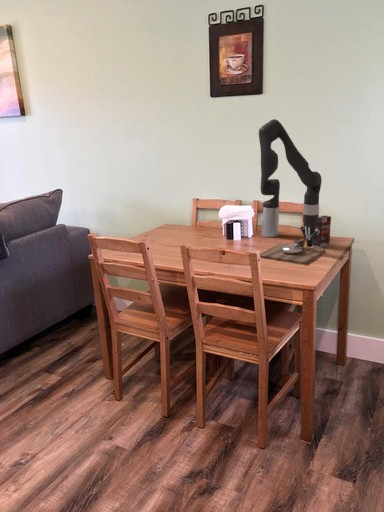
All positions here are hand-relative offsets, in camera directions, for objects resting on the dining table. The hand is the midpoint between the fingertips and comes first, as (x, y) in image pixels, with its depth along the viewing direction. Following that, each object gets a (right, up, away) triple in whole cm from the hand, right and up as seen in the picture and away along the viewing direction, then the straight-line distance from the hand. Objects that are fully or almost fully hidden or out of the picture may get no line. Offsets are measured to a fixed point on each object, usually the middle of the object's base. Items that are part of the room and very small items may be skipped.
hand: (309, 246), depth 215 cm
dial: (-7, -2, +1) cm, 7 cm away
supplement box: (+10, 0, +12) cm, 16 cm away
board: (-9, -4, 0) cm, 10 cm away
